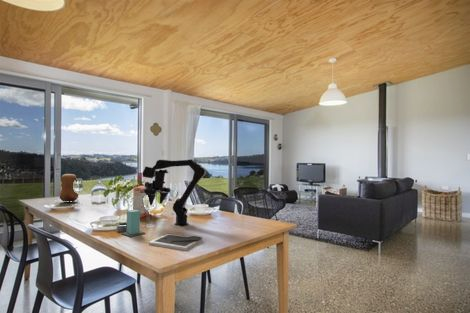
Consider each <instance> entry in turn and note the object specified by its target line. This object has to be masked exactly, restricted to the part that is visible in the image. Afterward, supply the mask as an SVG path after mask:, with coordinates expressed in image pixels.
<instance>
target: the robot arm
mask: <svg viewBox="0 0 470 313" xmlns="http://www.w3.org/2000/svg"><path fill="white" fill-rule="evenodd" d="M172 167H190V169H192V171H193V172H194V174H193V175H192V176H193V177H192V179H191V181H190V183H189V184H188V186H187V188H186V189H185V191H184V193H183V194H182V195H181V197H178V198H176V200H175V201H174V203H173V204H172V211H173V212H174V213H175V222H174V225H175V226H178V227H179V226H180V227H183V226H186V225H189V222H188V214H187V213H188V211H189V210H188V209H187V207H186V205H187V202H188V199H189V198H190V196H191V194H192V193H193V191H194V190H195V187H196V186H197V184H198V183H199V182H200V181H201V180H202V179H203V177H205V175H206V174H207V169H206V168H205V167H204V166H201V165H200V164H199V163H198V162H196V161H195V160H194V159H192V158H190V159H182V160H181V159H180V160H168V159H158V160H157V161H156V162H155V165H153V167H151V166H144V169H143V171H142V177H143V178H147V179H148V178H149V179H153V178H154V180H152V182H149V181H145V182H144V186H145V187H146V189H145V190H144V193H145V194H147V195H148V197H149V202H150V206H152V205H153V203H154V201H155V199H156V197H157V196H156V194H157V193H159V204H162V203H163V202H164V200H165V199H166V197H167V196H168V195H169V194H170V193H171V188H170V187H166V186H164V184H166V181H165V176H166V174H169V173H170V172H169V171H168V168H172Z"/></svg>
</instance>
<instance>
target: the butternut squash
mask: <svg viewBox="0 0 470 313" xmlns="http://www.w3.org/2000/svg"><path fill="white" fill-rule="evenodd" d="M76 179H77V176H76V174H73V173H65V174H63V175H62V176H61V180H60V181H61V182H60V187H61V189H60V193H59V199H60V200H61V202H64V201H74V202H75V201H77V200H78V199H79V193H78V194H77V193H75V192H74V190H73V182H74V180H76Z"/></svg>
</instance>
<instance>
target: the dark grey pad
mask: <svg viewBox="0 0 470 313" xmlns="http://www.w3.org/2000/svg"><path fill="white" fill-rule="evenodd" d="M120 235H122V236H125V237H127V238H133V237H137V236H142V235H146V232H145V231H141V230H140V233H137V234H132V235H130V234H128V233H127V231H124V232H120Z"/></svg>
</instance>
